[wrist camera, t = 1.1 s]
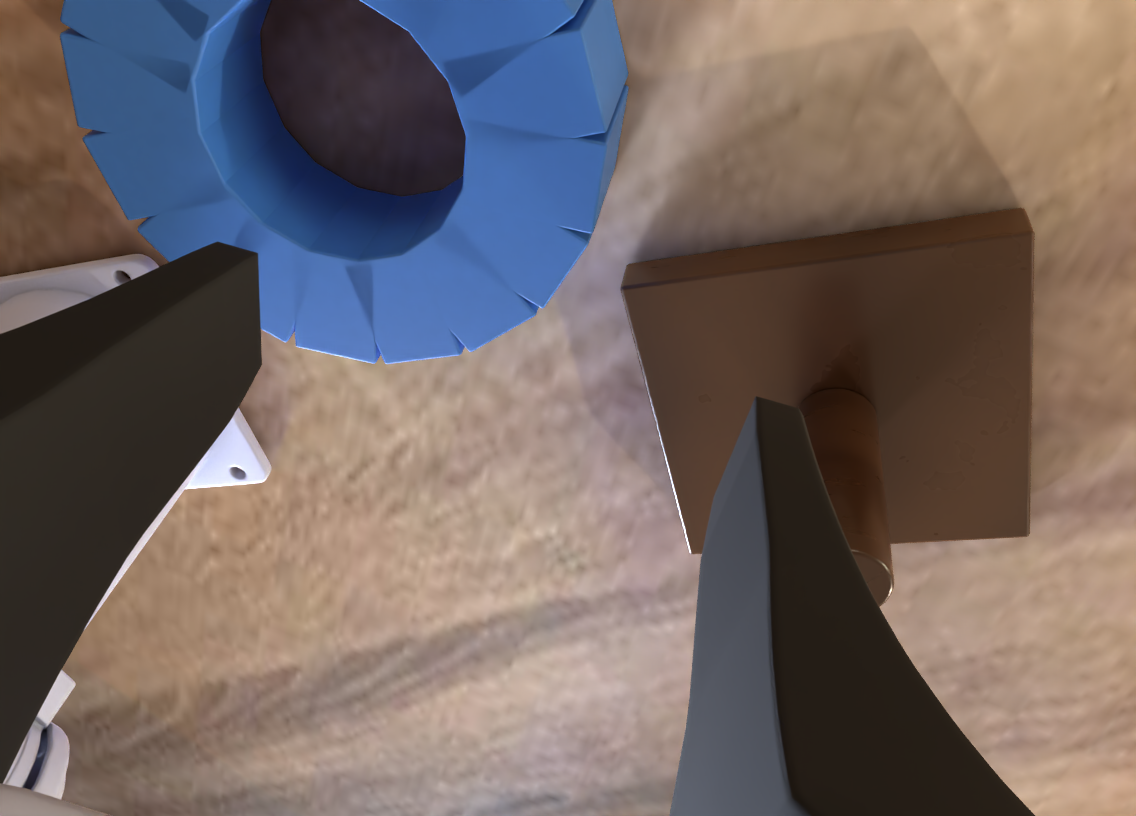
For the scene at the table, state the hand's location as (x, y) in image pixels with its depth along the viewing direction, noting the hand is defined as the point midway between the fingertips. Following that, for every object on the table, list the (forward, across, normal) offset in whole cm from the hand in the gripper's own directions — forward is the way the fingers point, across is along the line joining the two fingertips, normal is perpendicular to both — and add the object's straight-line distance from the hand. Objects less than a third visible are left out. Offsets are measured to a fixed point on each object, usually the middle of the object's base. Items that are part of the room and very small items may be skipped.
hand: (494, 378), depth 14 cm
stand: (+10, -7, +6) cm, 14 cm away
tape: (+10, +5, +1) cm, 11 cm away
